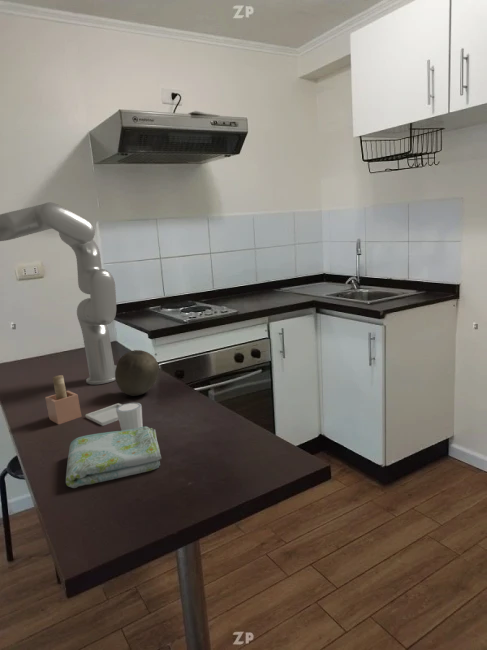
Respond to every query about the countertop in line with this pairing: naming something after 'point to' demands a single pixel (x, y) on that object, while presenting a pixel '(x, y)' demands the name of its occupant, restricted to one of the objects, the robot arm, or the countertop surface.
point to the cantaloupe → (136, 372)
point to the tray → (104, 415)
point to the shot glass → (130, 416)
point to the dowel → (59, 387)
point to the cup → (63, 408)
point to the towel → (111, 456)
